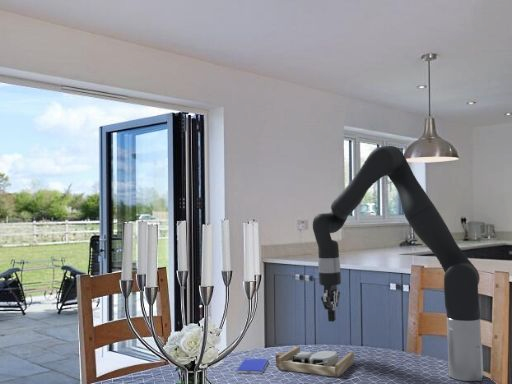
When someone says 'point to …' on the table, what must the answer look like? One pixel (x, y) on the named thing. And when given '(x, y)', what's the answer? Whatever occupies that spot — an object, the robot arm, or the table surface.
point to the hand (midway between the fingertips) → (332, 320)
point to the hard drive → (252, 366)
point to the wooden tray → (336, 371)
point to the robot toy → (317, 358)
